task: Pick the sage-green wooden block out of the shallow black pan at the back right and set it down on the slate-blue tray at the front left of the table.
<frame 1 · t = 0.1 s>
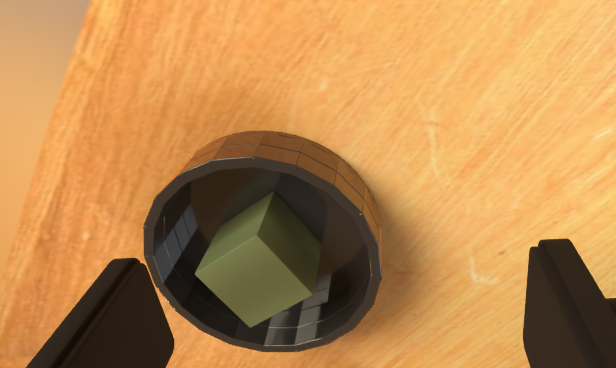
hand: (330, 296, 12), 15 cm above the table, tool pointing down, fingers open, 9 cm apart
pan: (272, 230, 29), on the table
block: (270, 235, 29), resting on pan
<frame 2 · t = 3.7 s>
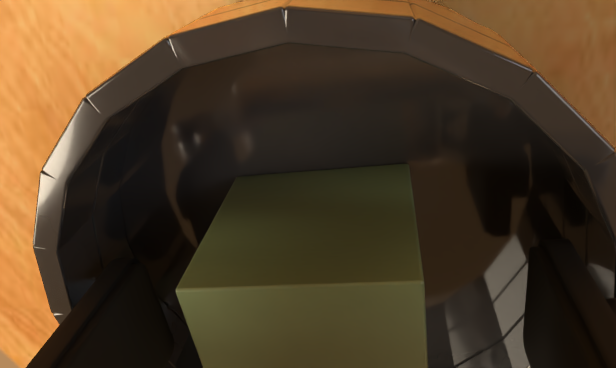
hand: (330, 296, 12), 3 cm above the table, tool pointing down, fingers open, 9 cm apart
pan: (332, 230, 14), on the table
block: (330, 240, 13), resting on pan
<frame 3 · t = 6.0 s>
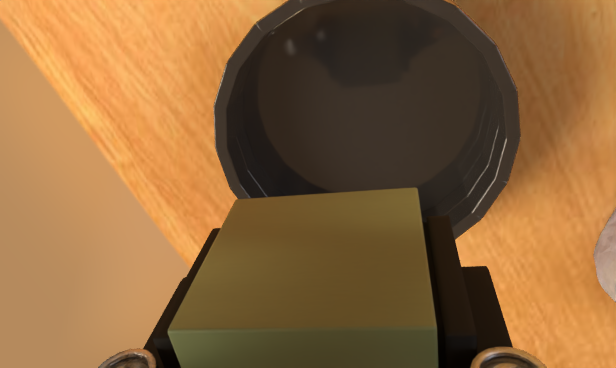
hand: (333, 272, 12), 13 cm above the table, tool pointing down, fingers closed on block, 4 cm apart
pan: (363, 116, 24), on the table
block: (334, 266, 13), point 13 cm above the table, touching gripper
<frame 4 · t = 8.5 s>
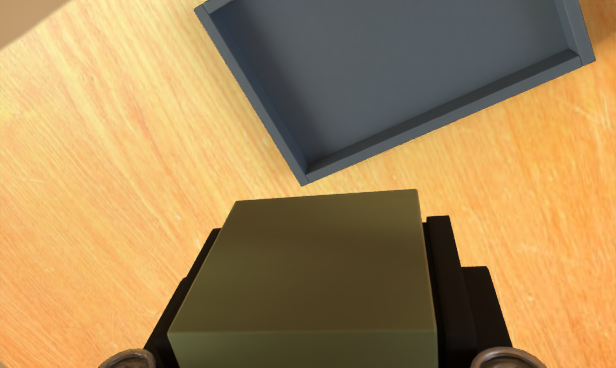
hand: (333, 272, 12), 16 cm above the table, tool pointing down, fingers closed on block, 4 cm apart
block: (334, 267, 13), point 16 cm above the table, touching gripper
tray: (388, 26, 25), on the table
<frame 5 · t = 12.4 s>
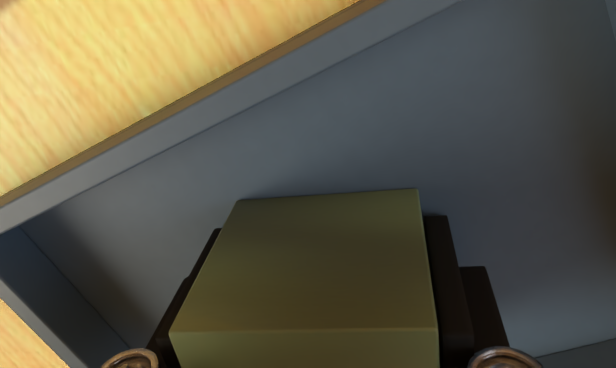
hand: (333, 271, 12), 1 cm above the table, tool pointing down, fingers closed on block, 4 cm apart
block: (335, 267, 13), resting on tray, touching gripper
tray: (334, 254, 13), on the table
when the fingers open (1 cm above the table, at t = 12.6 s): block stays where it is, resting on tray.
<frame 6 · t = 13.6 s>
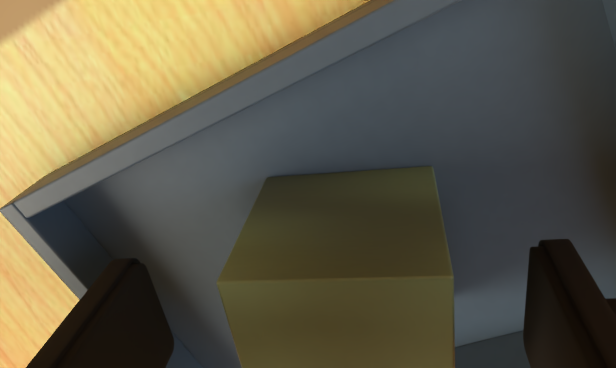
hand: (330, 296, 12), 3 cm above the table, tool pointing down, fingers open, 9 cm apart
block: (355, 240, 14), resting on tray
tray: (352, 229, 14), on the table
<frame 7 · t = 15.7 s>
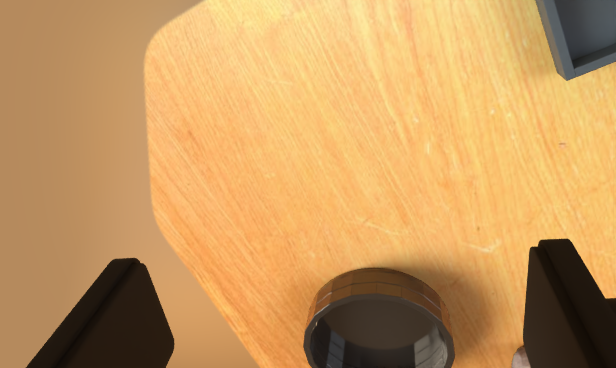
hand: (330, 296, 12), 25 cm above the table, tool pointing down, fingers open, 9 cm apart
pan: (378, 323, 45), on the table
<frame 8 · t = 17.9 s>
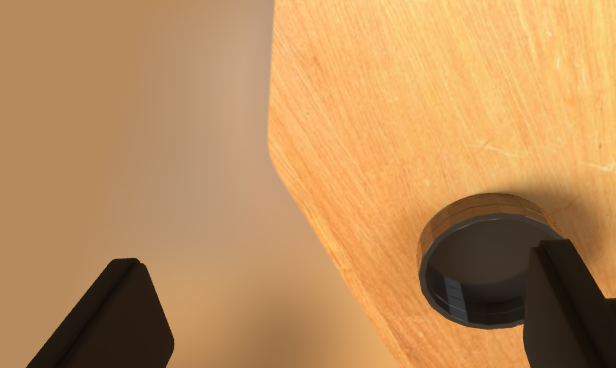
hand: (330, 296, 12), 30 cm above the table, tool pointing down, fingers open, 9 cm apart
pan: (486, 252, 46), on the table
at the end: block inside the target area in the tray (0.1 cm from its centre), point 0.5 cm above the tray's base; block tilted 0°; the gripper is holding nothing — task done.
